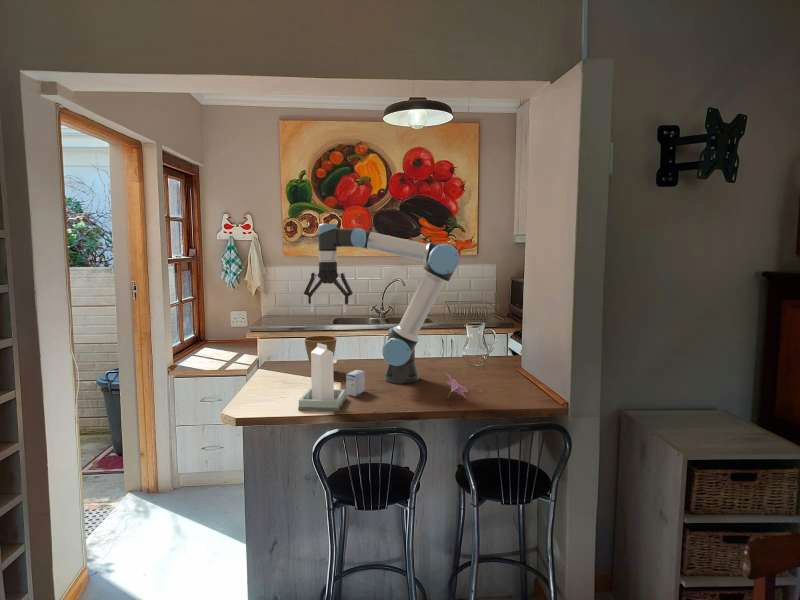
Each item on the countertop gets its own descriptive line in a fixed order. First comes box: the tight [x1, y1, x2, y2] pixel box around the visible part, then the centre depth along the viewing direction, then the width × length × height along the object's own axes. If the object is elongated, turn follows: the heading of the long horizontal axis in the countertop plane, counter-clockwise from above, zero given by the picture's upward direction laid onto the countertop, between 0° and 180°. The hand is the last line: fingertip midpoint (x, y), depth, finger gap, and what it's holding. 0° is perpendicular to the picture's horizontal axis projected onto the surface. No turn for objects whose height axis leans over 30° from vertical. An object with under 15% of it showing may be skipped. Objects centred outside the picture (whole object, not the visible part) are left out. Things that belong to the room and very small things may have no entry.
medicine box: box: [345, 369, 366, 397], centre depth 206 cm, size 8×4×9 cm, turn 155°
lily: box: [444, 372, 469, 399], centre depth 200 cm, size 12×12×10 cm
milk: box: [310, 343, 335, 400], centre depth 191 cm, size 6×6×22 cm
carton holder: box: [297, 388, 347, 412], centre depth 193 cm, size 15×15×4 cm
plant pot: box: [304, 335, 337, 366], centre depth 239 cm, size 15×15×16 cm
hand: (328, 311), depth 214 cm, fingers open, 13 cm apart
